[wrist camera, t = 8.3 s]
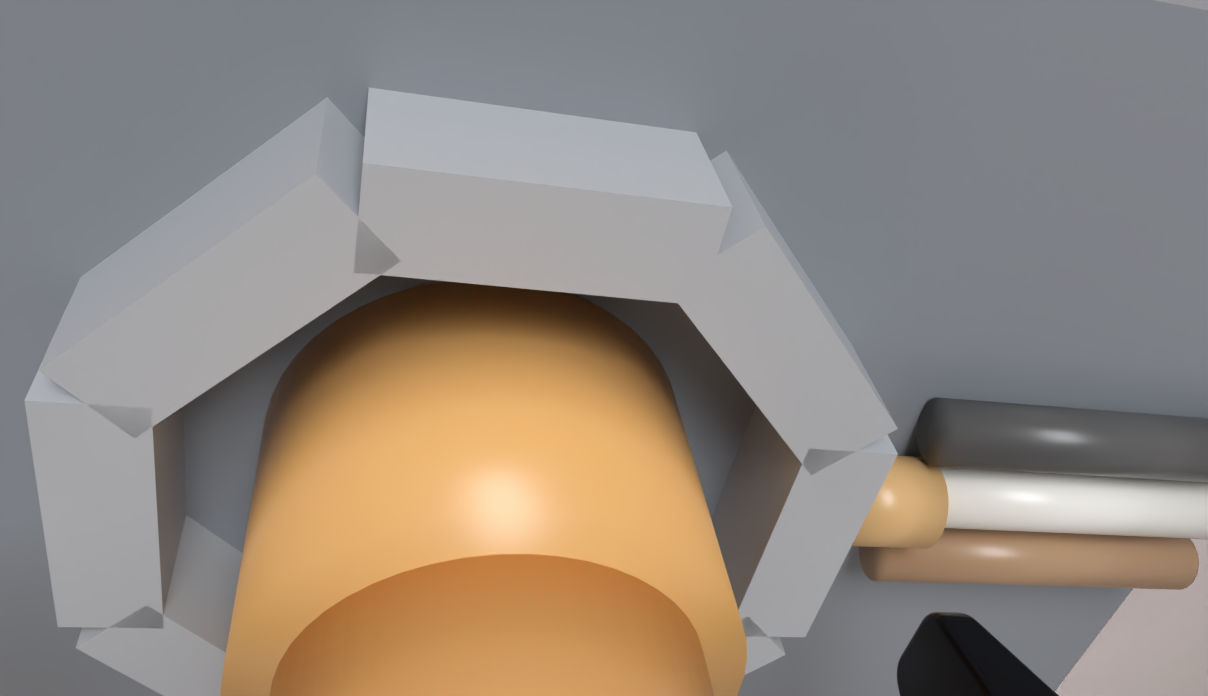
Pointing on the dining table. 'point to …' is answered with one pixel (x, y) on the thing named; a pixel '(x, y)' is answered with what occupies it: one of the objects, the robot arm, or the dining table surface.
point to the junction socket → (621, 292)
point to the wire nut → (480, 512)
